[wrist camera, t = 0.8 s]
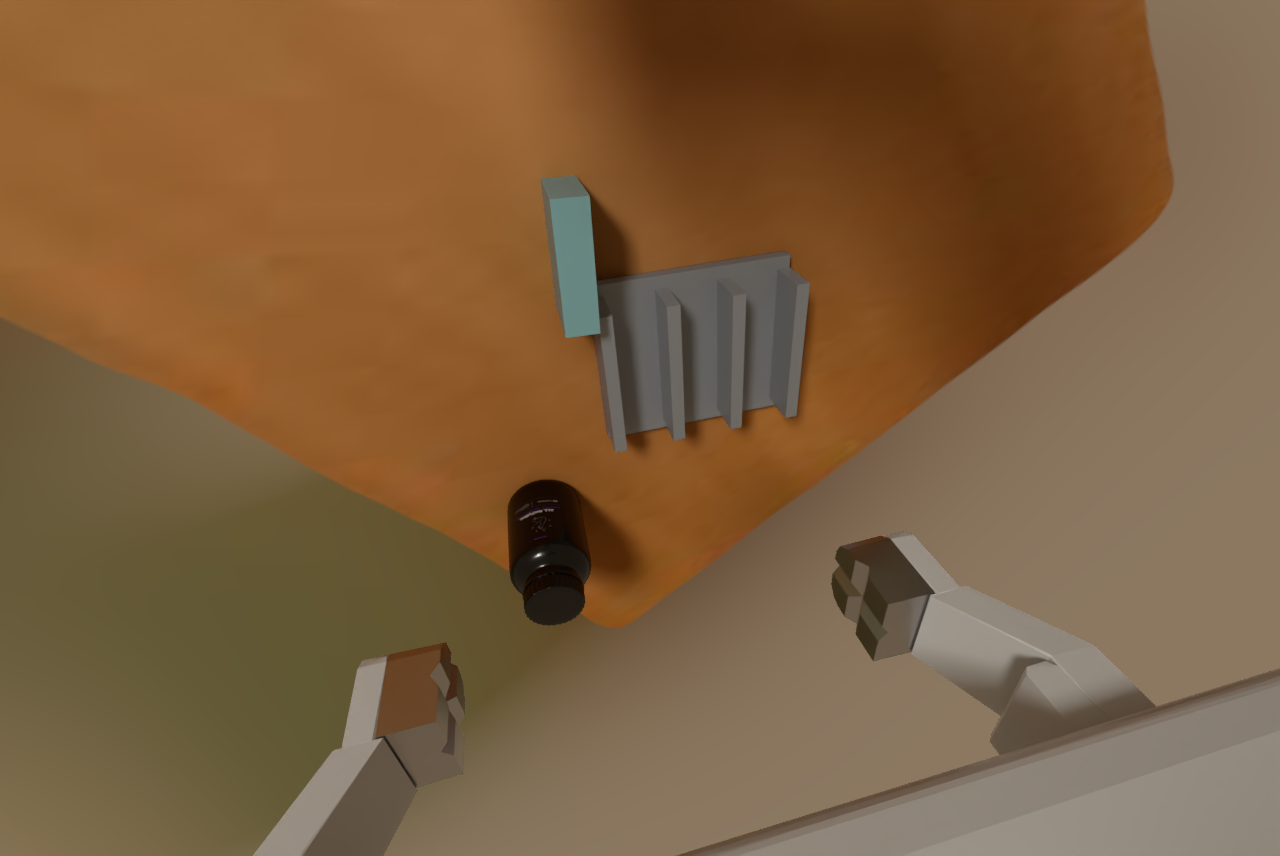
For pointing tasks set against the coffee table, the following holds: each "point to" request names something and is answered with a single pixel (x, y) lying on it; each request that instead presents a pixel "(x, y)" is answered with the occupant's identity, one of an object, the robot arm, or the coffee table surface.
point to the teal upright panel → (571, 254)
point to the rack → (700, 344)
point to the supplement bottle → (548, 551)
